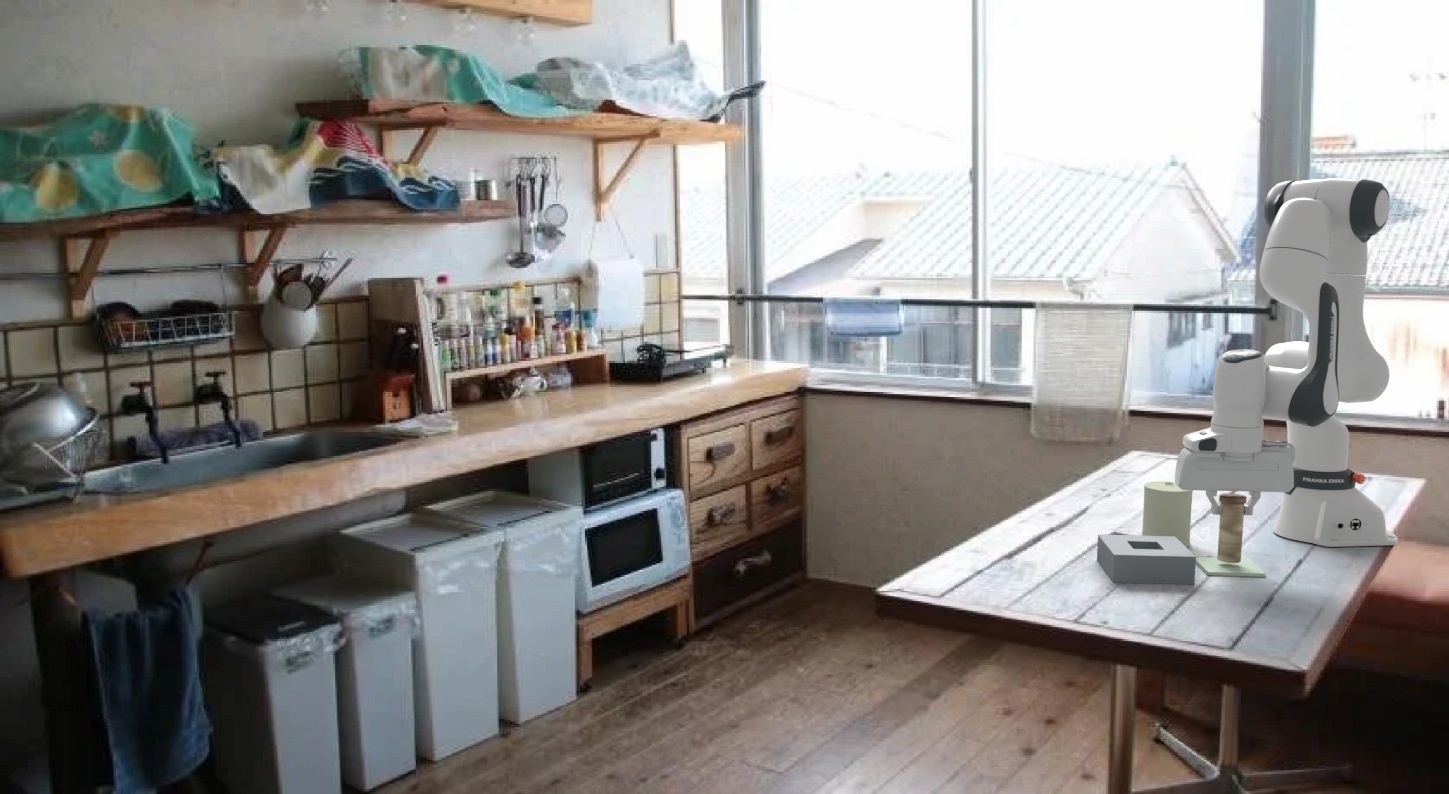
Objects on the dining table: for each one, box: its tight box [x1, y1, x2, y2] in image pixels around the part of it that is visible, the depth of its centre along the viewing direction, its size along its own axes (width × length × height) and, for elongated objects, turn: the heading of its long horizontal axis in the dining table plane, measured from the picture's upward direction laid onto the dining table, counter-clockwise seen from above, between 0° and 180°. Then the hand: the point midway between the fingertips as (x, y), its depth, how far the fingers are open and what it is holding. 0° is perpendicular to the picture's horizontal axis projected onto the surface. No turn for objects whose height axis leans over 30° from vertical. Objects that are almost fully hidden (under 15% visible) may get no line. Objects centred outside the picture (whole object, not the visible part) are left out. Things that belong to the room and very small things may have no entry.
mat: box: [1196, 556, 1267, 578], centre depth 224 cm, size 10×10×1 cm
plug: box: [1216, 492, 1247, 563], centre depth 223 cm, size 5×5×12 cm
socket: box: [1096, 534, 1197, 585], centre depth 222 cm, size 14×14×5 cm
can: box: [1141, 481, 1194, 549], centre depth 241 cm, size 9×9×12 cm
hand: (1231, 514), depth 223 cm, fingers closed on plug, 4 cm apart
